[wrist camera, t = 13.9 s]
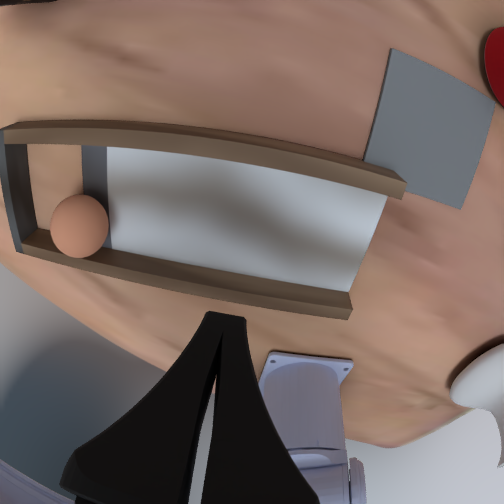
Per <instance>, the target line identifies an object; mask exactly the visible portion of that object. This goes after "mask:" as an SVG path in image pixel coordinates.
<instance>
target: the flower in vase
mask: <svg viewBox="0 0 504 504" xmlns="http://www.w3.org/2000/svg"><path fill="white" fill-rule="evenodd" d="M449 396H450V398H451V399H452V400H453V401H454V402H455V403H456V404H459V405H462V406H465V407H471V408H479V409H484V410H487V411H490V412H491V413H492V414H493V415H494V417H495V418H496V421H497V424H498V427H499V431H500V436H501V444H502V451H501V457H500V461H499V464H498V466H497V468H500V467H502V466H504V343H503V344H501V345H498V346H496V347H494V348H492V349H490V350H489V351H487V352H485V353H484V354H482V355H481V356H479V357H478V358H476V359H475V360H474V361H473V362H471V363H470V364H469V365H468V366H467V367H466V368H465V369H464V370H463V371H462V372H461V373H460V374H459V375H458V376H457V377H456V379H455V380H454V382H453V383H452V386H451V389H450V393H449Z"/></svg>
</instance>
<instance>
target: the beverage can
mask: <svg viewBox="0 0 504 504" xmlns="http://www.w3.org/2000/svg"><path fill="white" fill-rule="evenodd" d="M484 60H485V69H486V74H487V77H488V81H489V83H490V86H491V88H492V91H493V93H494V94H495V96H496V98H497V99H498V101H499V102H500V103H501V105H502V106H503V107H504V27H499V28H496V29H495V30H493V31H492V32H491V33H490V35H489V36H488V39H487V41H486V45H485V52H484Z"/></svg>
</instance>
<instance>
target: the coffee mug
mask: <svg viewBox="0 0 504 504" xmlns="http://www.w3.org/2000/svg"><path fill="white" fill-rule="evenodd" d="M53 1H56V0H0V6H6V5H15V4H26V3H43V2H53Z"/></svg>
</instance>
